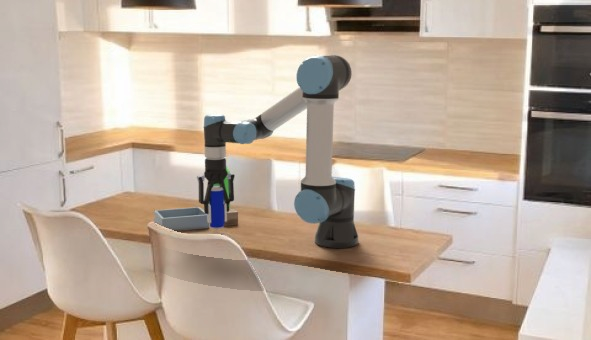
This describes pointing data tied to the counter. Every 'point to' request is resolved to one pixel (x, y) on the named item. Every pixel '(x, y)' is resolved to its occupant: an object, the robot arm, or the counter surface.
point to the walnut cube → (232, 217)
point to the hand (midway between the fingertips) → (217, 221)
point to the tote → (182, 218)
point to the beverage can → (217, 207)
